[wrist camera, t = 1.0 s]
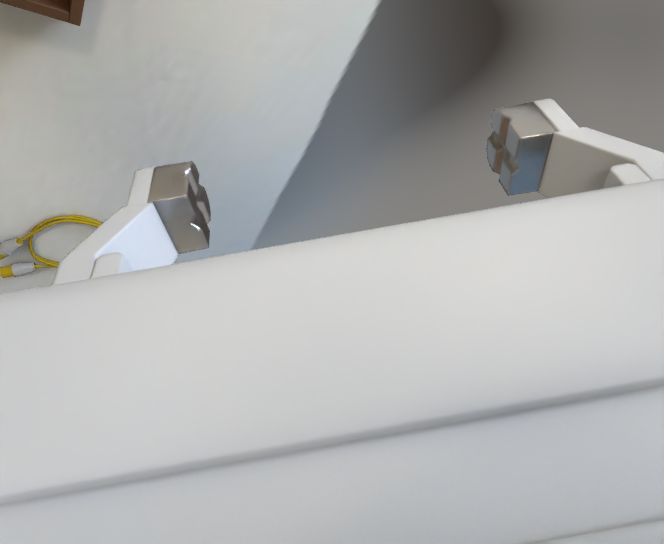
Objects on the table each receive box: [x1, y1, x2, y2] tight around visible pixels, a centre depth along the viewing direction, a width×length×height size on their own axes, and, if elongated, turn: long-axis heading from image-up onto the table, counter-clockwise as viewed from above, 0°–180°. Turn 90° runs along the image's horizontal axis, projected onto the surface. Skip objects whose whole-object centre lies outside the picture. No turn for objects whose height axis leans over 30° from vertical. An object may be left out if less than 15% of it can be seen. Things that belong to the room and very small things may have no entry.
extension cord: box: [0, 215, 102, 278], centre depth 66 cm, size 12×16×2 cm
